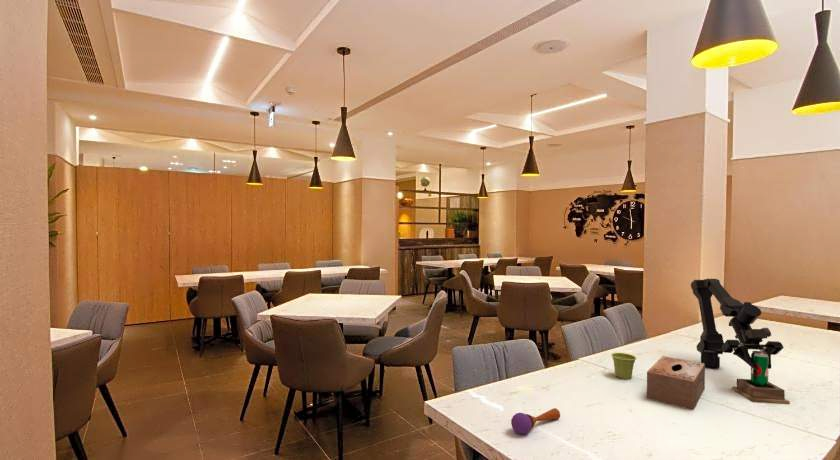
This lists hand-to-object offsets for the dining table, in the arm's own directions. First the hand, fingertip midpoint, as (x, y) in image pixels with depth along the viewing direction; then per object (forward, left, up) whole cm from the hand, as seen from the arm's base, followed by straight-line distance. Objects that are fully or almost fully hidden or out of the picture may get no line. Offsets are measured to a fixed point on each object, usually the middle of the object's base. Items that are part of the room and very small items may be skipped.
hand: (762, 368), depth 153 cm
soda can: (-1, +1, -7) cm, 7 cm away
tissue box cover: (-25, -16, -11) cm, 31 cm away
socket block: (-1, +1, -11) cm, 11 cm away
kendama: (-54, -75, -11) cm, 93 cm away
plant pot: (-45, -10, -11) cm, 47 cm away
